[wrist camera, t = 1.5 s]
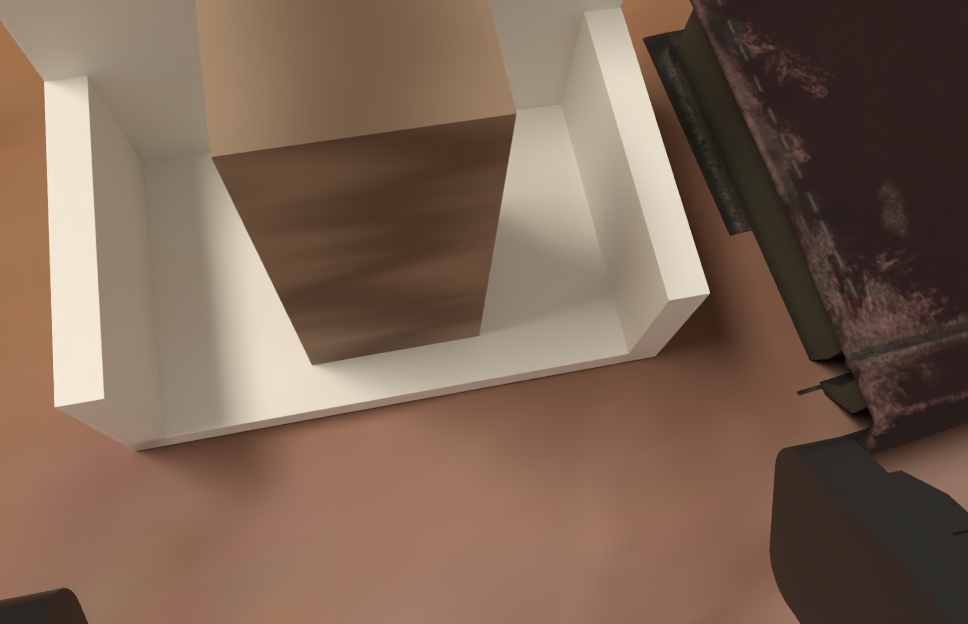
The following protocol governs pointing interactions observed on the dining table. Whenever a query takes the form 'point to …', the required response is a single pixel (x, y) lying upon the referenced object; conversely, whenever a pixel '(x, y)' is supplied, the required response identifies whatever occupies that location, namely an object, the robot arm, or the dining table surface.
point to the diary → (844, 183)
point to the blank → (363, 160)
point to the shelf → (242, 276)
